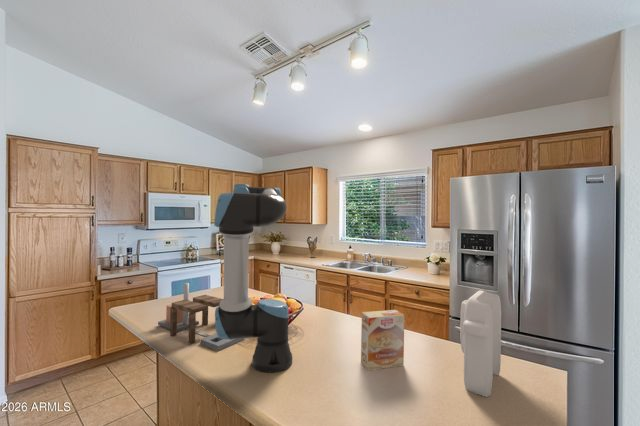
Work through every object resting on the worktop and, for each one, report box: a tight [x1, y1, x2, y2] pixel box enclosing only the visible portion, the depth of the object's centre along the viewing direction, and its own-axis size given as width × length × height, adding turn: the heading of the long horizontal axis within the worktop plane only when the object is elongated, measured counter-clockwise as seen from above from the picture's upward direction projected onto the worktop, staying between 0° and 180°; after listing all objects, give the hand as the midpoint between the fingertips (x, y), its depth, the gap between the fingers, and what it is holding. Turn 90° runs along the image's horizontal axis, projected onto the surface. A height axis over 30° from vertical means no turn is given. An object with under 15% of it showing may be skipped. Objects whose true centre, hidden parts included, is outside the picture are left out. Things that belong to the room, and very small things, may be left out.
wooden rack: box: [169, 294, 224, 345], centre depth 150 cm, size 36×19×15 cm, turn 57°
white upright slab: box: [459, 289, 503, 398], centre depth 107 cm, size 27×11×30 cm, turn 141°
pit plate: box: [200, 332, 245, 352], centre depth 136 cm, size 12×14×2 cm
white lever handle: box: [157, 282, 200, 332], centre depth 154 cm, size 16×12×21 cm
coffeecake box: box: [360, 309, 405, 371], centre depth 117 cm, size 15×7×20 cm, turn 105°
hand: (240, 262), depth 153 cm, fingers closed
